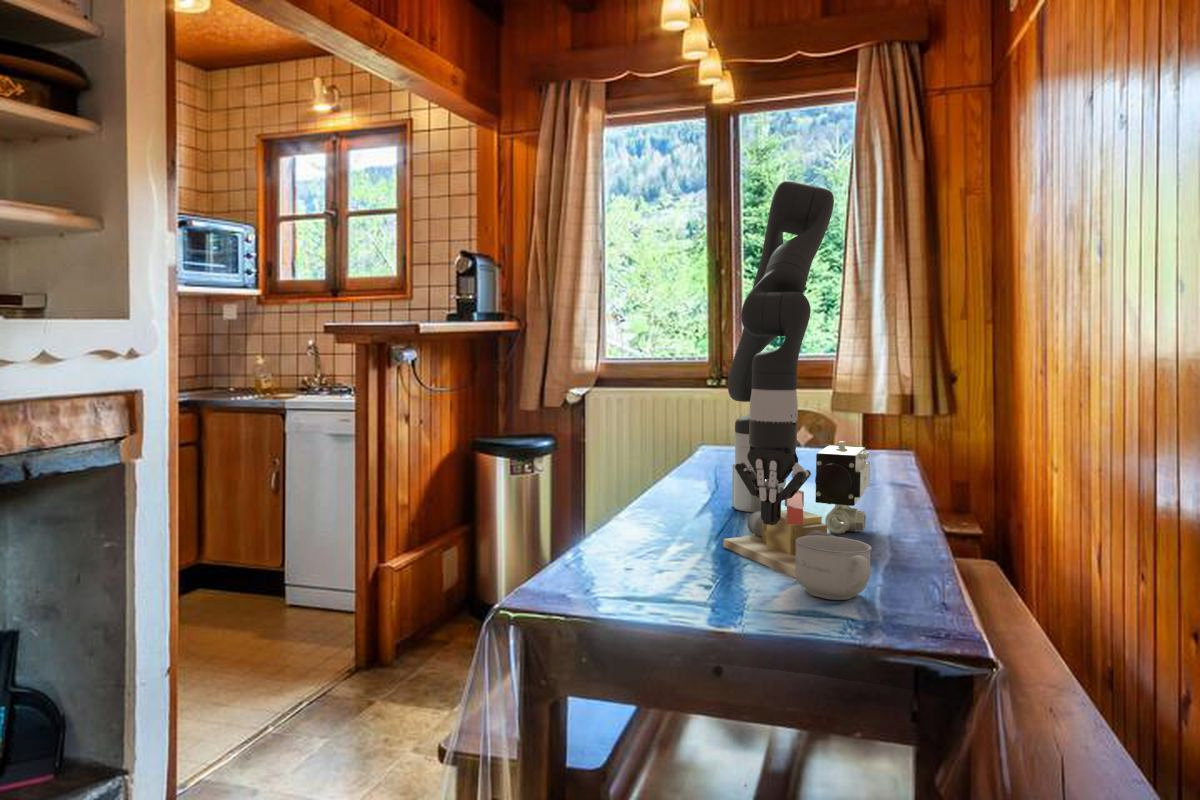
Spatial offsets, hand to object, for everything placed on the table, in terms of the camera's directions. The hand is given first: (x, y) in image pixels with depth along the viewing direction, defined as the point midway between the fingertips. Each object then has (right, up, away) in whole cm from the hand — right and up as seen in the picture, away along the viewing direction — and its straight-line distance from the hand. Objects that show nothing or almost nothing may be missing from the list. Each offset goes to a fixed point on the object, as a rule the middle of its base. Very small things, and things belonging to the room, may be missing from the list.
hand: (770, 523), depth 126 cm
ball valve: (+21, -6, +29) cm, 36 cm away
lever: (+5, +1, +3) cm, 6 cm away
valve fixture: (+6, -7, +10) cm, 14 cm away
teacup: (+7, -9, -11) cm, 16 cm away
